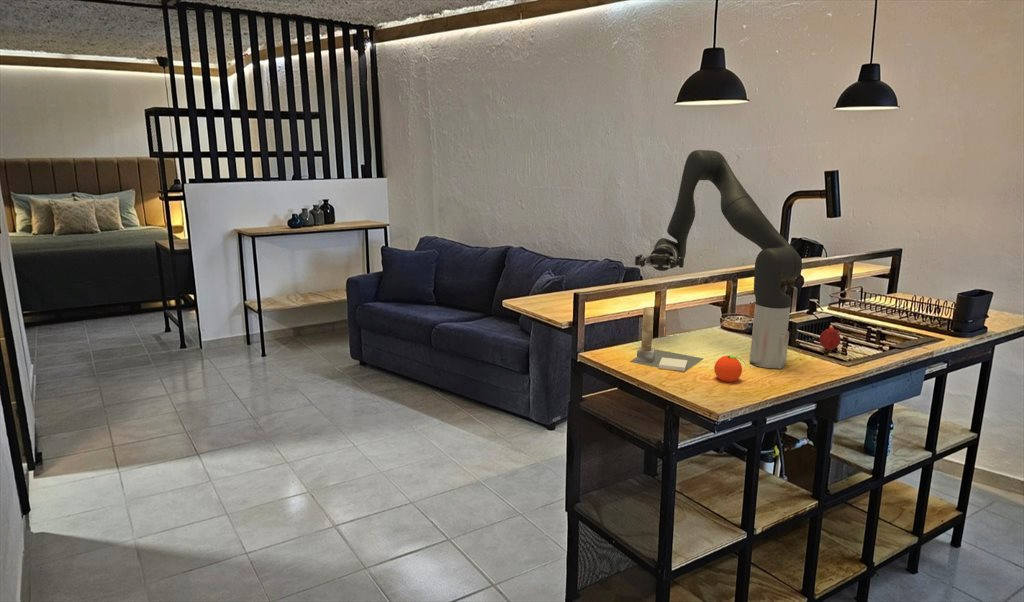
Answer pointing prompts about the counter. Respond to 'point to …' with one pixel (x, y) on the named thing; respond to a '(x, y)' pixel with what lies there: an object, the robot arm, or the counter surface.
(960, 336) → the counter surface
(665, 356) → the mat
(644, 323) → the pusher
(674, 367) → the tile
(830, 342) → the onion
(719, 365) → the clementine
